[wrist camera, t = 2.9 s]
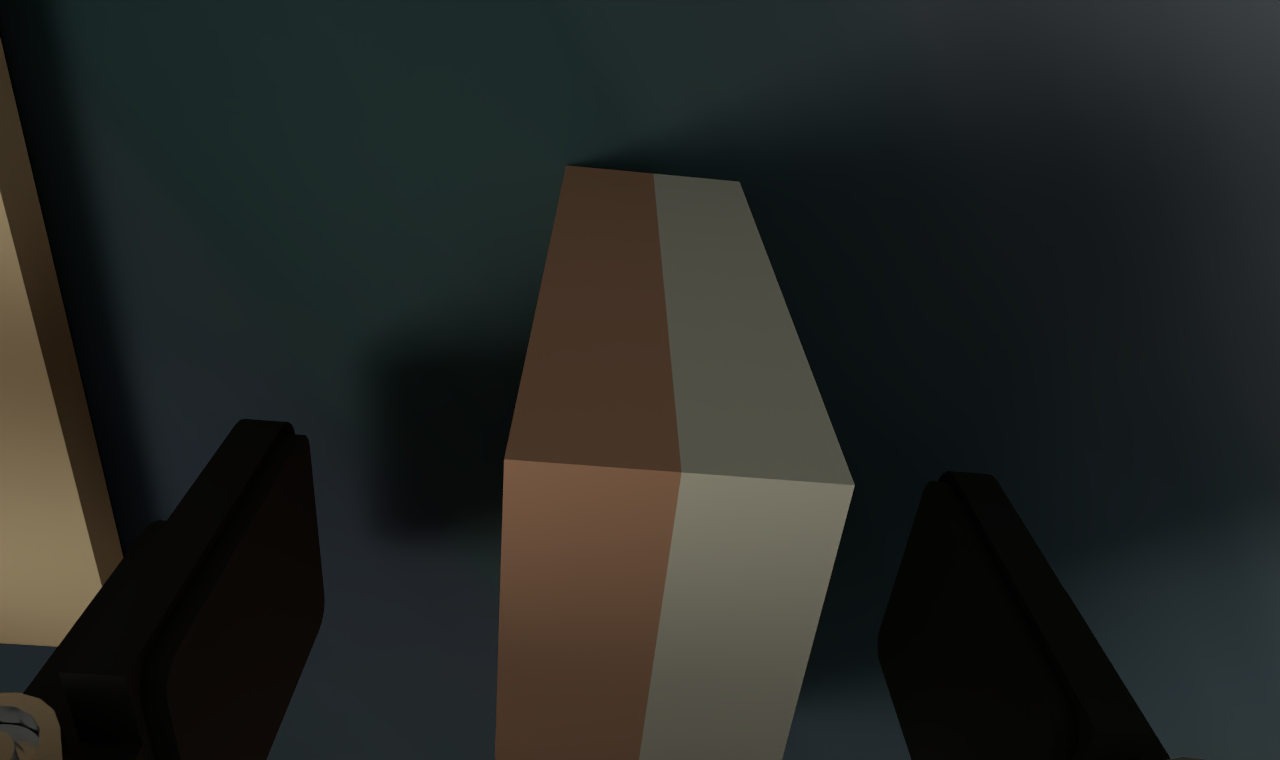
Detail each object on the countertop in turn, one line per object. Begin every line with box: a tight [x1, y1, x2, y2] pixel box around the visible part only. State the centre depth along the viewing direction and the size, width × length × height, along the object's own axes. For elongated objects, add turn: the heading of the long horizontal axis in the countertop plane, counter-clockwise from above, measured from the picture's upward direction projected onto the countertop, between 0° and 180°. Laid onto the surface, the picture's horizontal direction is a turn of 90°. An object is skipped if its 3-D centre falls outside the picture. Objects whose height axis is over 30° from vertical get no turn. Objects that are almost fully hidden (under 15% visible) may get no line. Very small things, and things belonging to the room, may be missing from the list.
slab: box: [495, 165, 855, 760], centre depth 10 cm, size 9×2×6 cm, turn 174°
